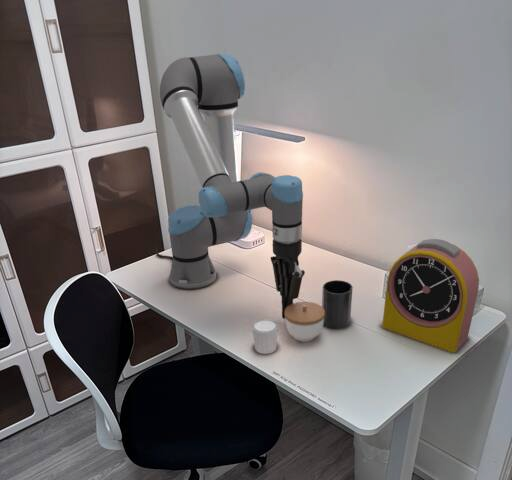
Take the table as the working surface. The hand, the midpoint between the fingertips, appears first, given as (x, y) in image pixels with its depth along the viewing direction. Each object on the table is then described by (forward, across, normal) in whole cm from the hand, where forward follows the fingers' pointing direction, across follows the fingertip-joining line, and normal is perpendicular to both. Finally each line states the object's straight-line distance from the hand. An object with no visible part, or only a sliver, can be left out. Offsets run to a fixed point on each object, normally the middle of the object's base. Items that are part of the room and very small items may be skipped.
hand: (287, 316), depth 148 cm
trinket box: (+2, +8, 0) cm, 8 cm away
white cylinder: (+2, +7, -12) cm, 14 cm away
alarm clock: (+2, +25, +28) cm, 38 cm away
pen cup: (+2, +7, +12) cm, 14 cm away
